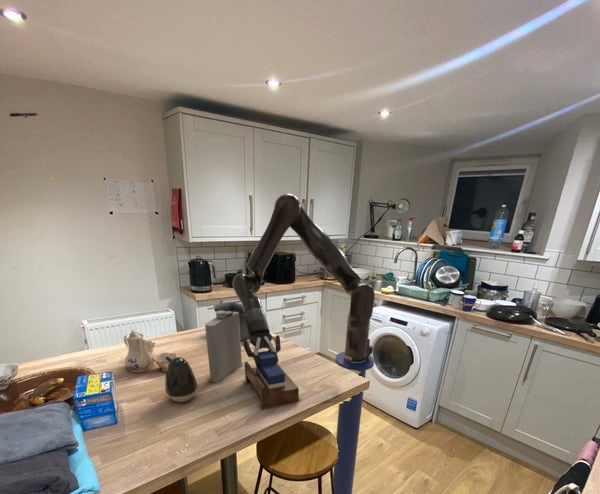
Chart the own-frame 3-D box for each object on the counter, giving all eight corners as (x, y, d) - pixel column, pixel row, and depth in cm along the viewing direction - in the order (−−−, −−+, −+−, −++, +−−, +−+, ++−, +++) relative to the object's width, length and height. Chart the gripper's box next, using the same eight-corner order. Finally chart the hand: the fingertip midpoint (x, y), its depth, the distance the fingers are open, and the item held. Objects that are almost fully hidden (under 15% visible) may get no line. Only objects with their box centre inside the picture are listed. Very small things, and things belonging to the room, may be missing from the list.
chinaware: (185, 371, 136) (184, 332, 130) (147, 383, 123) (143, 340, 117) (147, 353, 150) (144, 317, 145) (108, 362, 138) (104, 323, 132)
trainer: (256, 371, 123) (255, 352, 120) (271, 368, 125) (271, 350, 122) (268, 389, 111) (268, 369, 108) (285, 385, 114) (285, 366, 111)
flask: (234, 362, 141) (230, 304, 130) (243, 364, 139) (240, 306, 128) (207, 380, 126) (200, 317, 116) (217, 383, 124) (211, 319, 114)
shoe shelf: (277, 374, 131) (277, 356, 128) (298, 400, 115) (298, 380, 111) (245, 381, 126) (244, 362, 123) (262, 409, 110) (261, 387, 106)
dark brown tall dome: (183, 387, 121) (178, 348, 115) (204, 395, 116) (200, 355, 110) (160, 400, 113) (152, 359, 107) (181, 409, 108) (175, 367, 102)
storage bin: (260, 336, 167) (259, 309, 161) (236, 345, 156) (234, 316, 150) (233, 326, 180) (232, 300, 174) (209, 334, 169) (206, 306, 163)
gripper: (239, 320, 117) (250, 364, 112) (277, 315, 123) (289, 358, 118) (236, 329, 124) (246, 372, 119) (272, 324, 129) (283, 365, 125)
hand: (267, 364), depth 118 cm, fingers closed on trainer, 5 cm apart
